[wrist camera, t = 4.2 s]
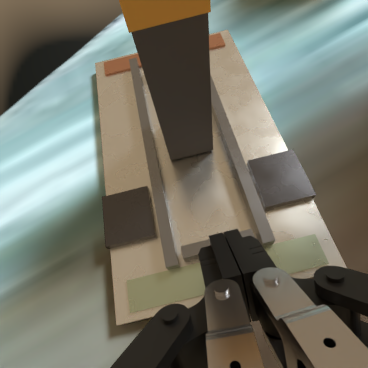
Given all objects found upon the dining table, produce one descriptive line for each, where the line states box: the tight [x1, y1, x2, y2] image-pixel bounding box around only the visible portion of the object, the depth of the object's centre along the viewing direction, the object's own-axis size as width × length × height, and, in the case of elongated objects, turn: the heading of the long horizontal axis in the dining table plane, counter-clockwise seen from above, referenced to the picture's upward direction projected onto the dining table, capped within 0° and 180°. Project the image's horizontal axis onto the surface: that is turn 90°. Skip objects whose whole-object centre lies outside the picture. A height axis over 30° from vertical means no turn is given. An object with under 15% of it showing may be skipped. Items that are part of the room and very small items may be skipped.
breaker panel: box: [95, 30, 347, 325], centre depth 23 cm, size 15×26×2 cm, turn 12°
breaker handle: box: [119, 0, 213, 160], centre depth 17 cm, size 4×4×13 cm
